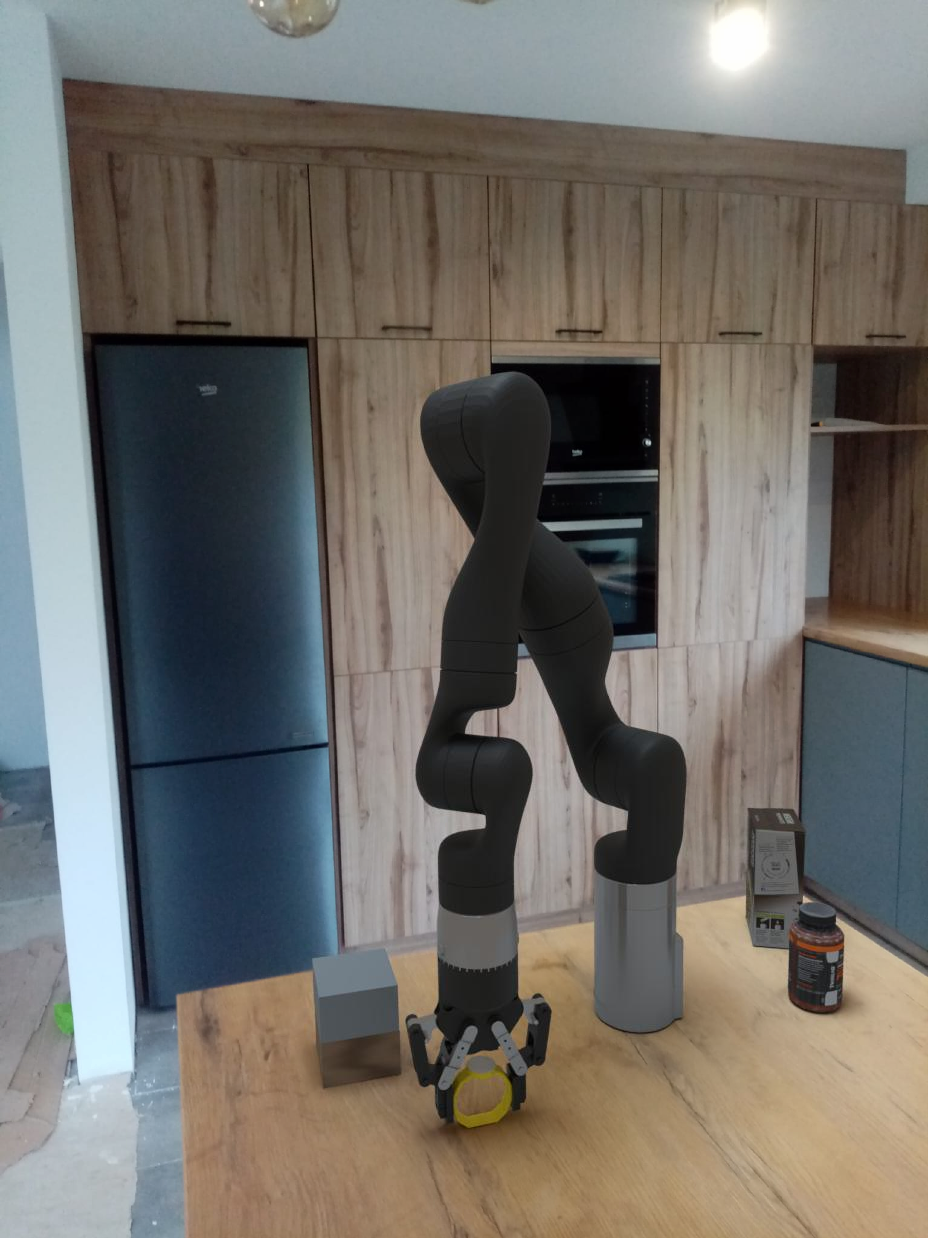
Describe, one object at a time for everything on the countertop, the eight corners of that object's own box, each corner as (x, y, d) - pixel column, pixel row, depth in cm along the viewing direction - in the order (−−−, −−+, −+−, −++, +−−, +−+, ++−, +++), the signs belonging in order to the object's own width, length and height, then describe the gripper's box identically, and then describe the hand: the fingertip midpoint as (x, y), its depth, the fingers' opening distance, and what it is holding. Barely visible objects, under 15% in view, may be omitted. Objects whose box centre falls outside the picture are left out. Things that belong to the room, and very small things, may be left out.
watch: (505, 1108, 87) (508, 1051, 86) (514, 1127, 84) (517, 1068, 83) (445, 1117, 85) (448, 1058, 84) (453, 1136, 82) (456, 1076, 82)
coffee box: (803, 950, 115) (807, 831, 113) (751, 947, 116) (754, 829, 114) (792, 918, 124) (795, 807, 122) (744, 915, 125) (746, 805, 123)
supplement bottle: (848, 1017, 100) (851, 922, 99) (792, 1013, 101) (795, 919, 100) (835, 989, 106) (838, 899, 105) (783, 985, 107) (785, 896, 106)
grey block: (386, 990, 99) (384, 948, 98) (399, 1030, 91) (397, 985, 90) (313, 1001, 97) (312, 958, 96) (321, 1044, 89) (319, 997, 88)
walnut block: (388, 1032, 99) (386, 990, 99) (401, 1076, 92) (399, 1031, 91) (316, 1044, 97) (314, 1002, 97) (323, 1090, 90) (321, 1044, 89)
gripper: (537, 917, 88) (539, 1074, 90) (394, 937, 84) (399, 1100, 86) (564, 953, 80) (565, 1124, 82) (409, 977, 77) (414, 1154, 79)
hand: (480, 1111), depth 84 cm, fingers closed on watch, 6 cm apart
